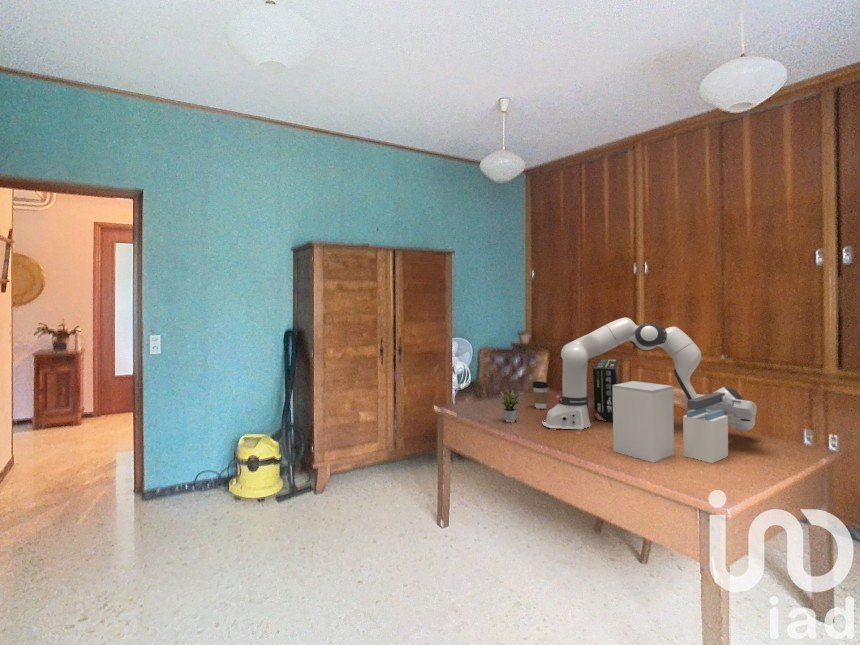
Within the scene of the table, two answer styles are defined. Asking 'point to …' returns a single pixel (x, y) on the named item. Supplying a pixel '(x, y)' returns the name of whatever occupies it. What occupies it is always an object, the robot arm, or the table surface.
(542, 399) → the coffee cup
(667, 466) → the table surface
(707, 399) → the dark grey bar
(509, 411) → the house plant
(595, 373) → the router box
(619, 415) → the tall stand
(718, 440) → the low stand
